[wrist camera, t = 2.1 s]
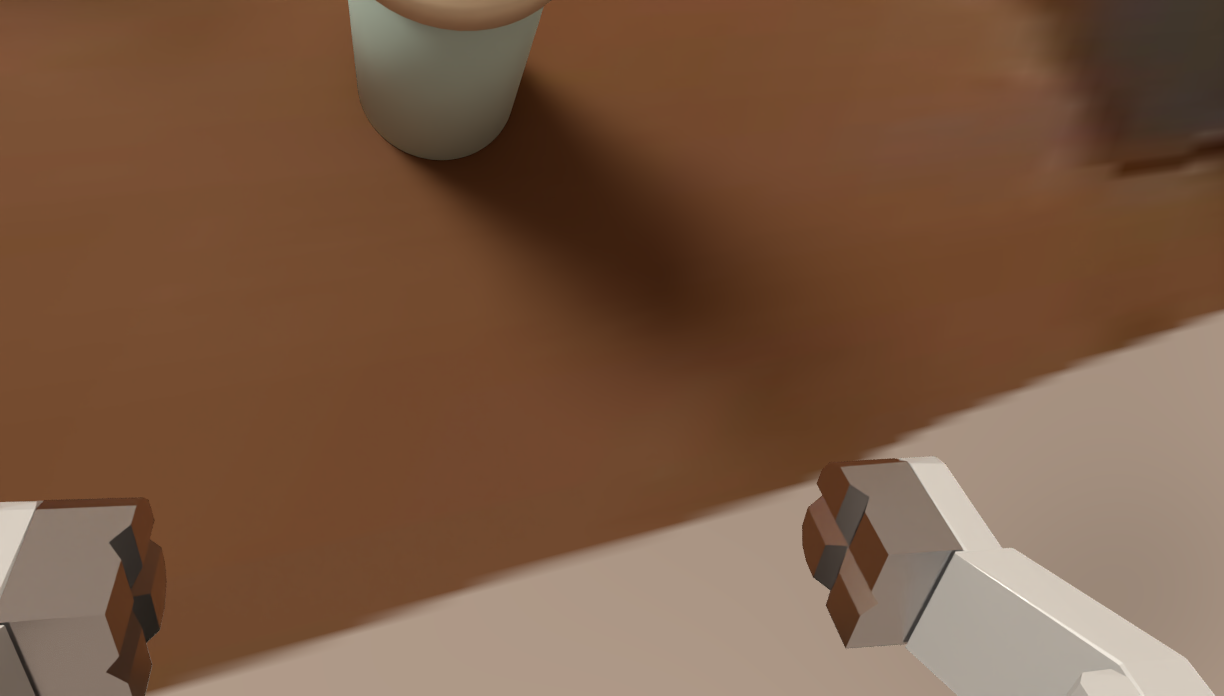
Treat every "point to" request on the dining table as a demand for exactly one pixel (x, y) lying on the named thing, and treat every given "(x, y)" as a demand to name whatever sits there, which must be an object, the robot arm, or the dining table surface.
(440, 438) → the dining table surface
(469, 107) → the grey-green capped cylinder
